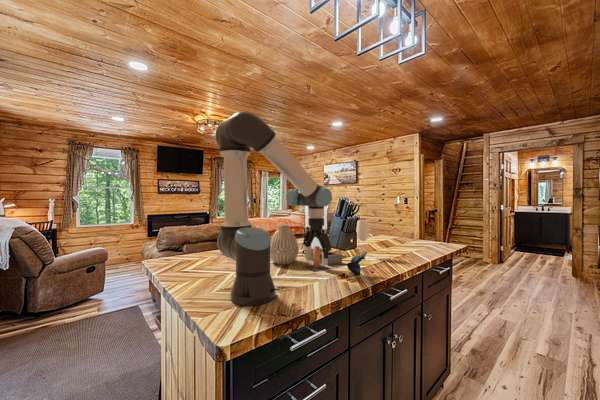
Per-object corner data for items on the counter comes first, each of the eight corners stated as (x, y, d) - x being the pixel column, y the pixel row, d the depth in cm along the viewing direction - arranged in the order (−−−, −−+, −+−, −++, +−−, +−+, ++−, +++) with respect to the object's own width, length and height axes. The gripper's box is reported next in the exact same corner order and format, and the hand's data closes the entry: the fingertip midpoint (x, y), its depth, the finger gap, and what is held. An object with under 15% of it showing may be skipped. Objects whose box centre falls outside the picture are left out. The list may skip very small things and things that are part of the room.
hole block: (342, 264, 131) (342, 254, 131) (328, 266, 127) (328, 256, 126) (318, 256, 148) (318, 247, 148) (305, 258, 143) (305, 249, 143)
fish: (370, 274, 114) (369, 252, 113) (350, 277, 110) (350, 254, 110) (364, 272, 118) (364, 250, 117) (344, 274, 114) (344, 252, 114)
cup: (354, 256, 149) (354, 220, 149) (364, 255, 151) (364, 219, 151) (361, 258, 142) (361, 221, 142) (372, 257, 145) (372, 220, 144)
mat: (331, 269, 122) (331, 268, 122) (314, 272, 117) (314, 271, 117) (318, 264, 131) (318, 263, 131) (302, 267, 125) (302, 266, 125)
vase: (280, 269, 123) (280, 227, 123) (262, 262, 135) (261, 224, 135) (305, 263, 134) (304, 224, 134) (285, 257, 146) (285, 222, 146)
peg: (320, 267, 123) (320, 247, 123) (315, 268, 122) (315, 247, 122) (317, 266, 126) (317, 246, 126) (312, 267, 124) (312, 246, 124)
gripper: (339, 218, 115) (339, 266, 116) (308, 215, 136) (308, 256, 136) (326, 219, 111) (326, 269, 112) (296, 216, 132) (296, 258, 132)
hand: (316, 262), depth 124 cm, fingers open, 12 cm apart
